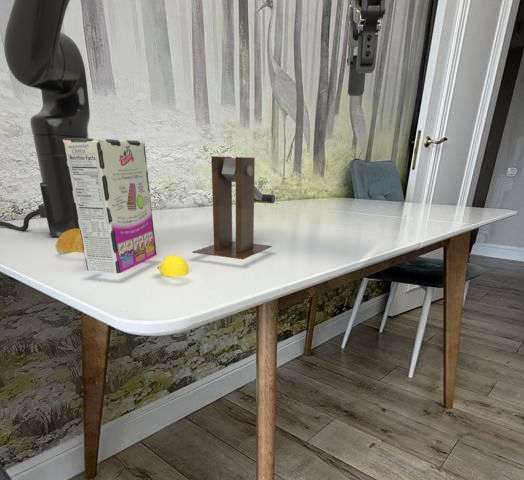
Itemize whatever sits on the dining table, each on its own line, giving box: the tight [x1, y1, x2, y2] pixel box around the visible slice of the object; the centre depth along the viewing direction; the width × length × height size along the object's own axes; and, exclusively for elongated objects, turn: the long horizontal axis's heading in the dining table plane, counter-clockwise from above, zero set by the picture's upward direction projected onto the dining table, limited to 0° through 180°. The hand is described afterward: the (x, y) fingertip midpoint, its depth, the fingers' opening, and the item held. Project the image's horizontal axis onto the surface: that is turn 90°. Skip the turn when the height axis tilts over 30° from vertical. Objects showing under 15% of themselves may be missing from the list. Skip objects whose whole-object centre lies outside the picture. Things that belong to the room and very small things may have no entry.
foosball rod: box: [222, 157, 276, 204], centre depth 64 cm, size 13×5×2 cm, turn 155°
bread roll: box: [54, 229, 84, 255], centre depth 63 cm, size 8×9×4 cm
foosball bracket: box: [191, 156, 273, 260], centre depth 62 cm, size 11×9×15 cm
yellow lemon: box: [156, 254, 189, 278], centre depth 51 cm, size 3×6×4 cm, turn 44°
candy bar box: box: [62, 137, 157, 274], centre depth 52 cm, size 11×5×16 cm, turn 168°
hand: (360, 84), depth 52 cm, fingers open, 8 cm apart
